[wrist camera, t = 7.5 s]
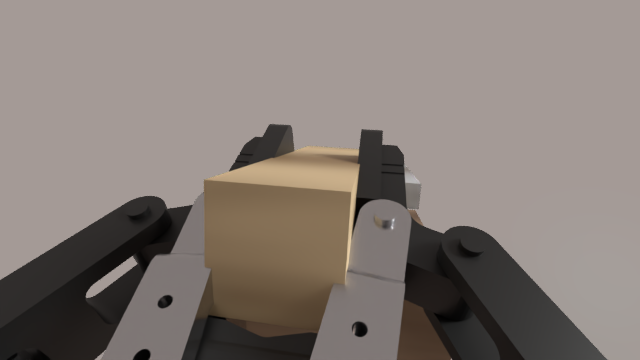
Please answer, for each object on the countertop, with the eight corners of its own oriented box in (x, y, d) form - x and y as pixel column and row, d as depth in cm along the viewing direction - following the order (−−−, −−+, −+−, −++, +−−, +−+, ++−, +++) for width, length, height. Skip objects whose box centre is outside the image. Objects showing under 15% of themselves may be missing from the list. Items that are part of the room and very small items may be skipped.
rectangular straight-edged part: (302, 166, 28) (303, 135, 28) (397, 173, 27) (401, 141, 27) (79, 296, 7) (69, 168, 6) (502, 357, 6) (526, 206, 5)
